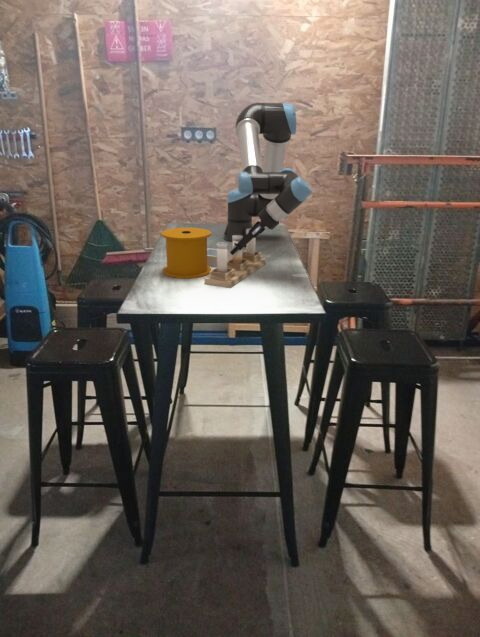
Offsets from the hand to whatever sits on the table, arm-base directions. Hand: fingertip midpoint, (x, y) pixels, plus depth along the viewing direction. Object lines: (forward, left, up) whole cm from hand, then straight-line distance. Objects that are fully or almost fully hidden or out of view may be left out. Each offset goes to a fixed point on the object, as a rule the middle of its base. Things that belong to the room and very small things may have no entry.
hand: (227, 257), depth 179 cm
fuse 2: (-14, +4, -4) cm, 15 cm away
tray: (-10, -10, -6) cm, 16 cm away
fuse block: (-1, +4, -6) cm, 7 cm away
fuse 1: (+12, +4, -4) cm, 13 cm away
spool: (+5, -14, -6) cm, 16 cm away
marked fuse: (-1, +4, -4) cm, 5 cm away
